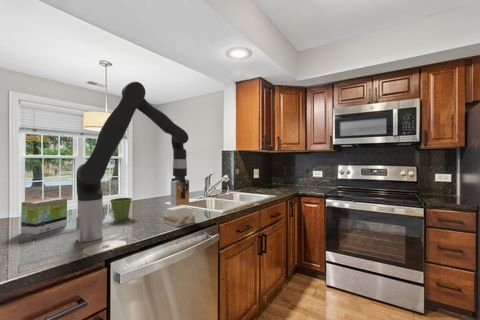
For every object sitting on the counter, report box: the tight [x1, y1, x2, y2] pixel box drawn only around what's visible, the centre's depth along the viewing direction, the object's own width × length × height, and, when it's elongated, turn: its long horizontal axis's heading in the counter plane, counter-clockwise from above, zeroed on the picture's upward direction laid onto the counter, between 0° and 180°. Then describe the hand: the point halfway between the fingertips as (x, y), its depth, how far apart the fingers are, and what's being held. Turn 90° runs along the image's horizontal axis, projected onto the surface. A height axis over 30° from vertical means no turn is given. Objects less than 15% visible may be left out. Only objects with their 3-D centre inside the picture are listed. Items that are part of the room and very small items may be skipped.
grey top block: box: [166, 205, 194, 219], centre depth 131 cm, size 10×10×4 cm
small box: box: [170, 180, 190, 207], centre depth 131 cm, size 8×6×13 cm
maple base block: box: [163, 214, 196, 228], centre depth 131 cm, size 12×12×4 cm
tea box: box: [20, 197, 68, 235], centre depth 117 cm, size 15×10×15 cm
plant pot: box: [109, 197, 133, 221], centre depth 138 cm, size 12×12×11 cm
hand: (179, 197), depth 131 cm, fingers closed on small box, 6 cm apart
